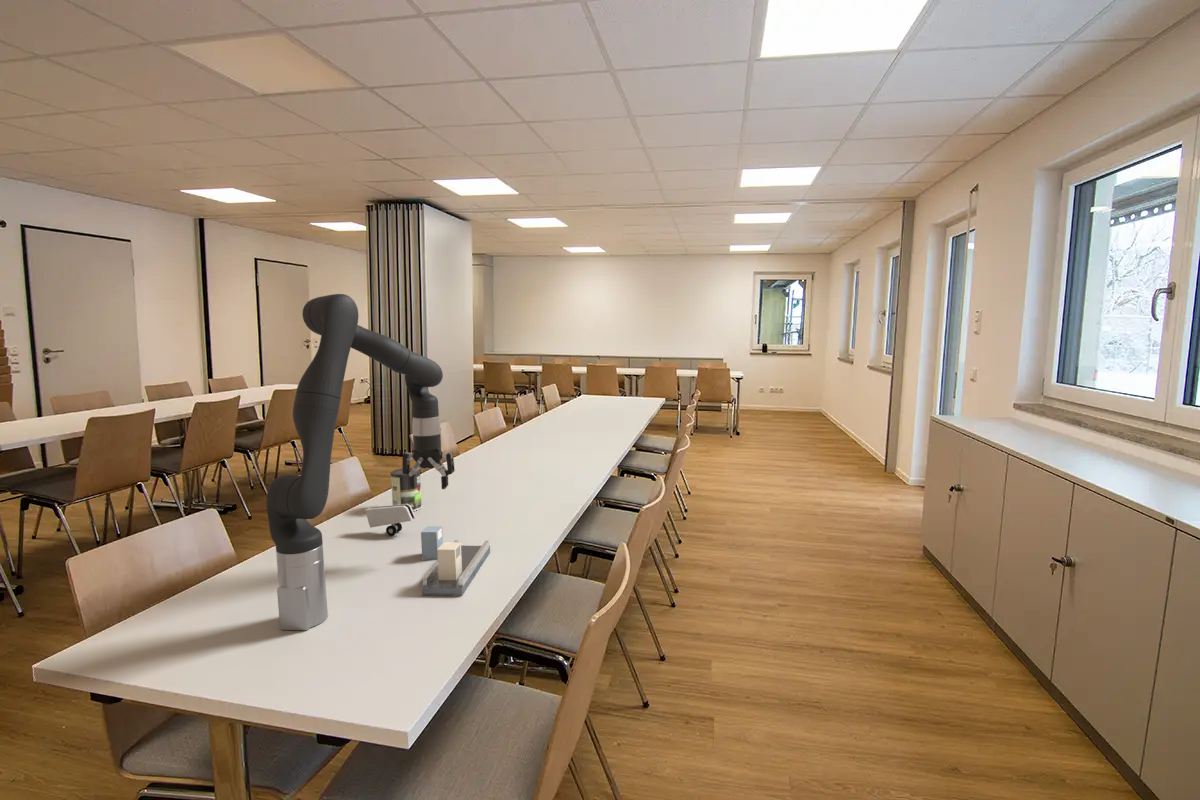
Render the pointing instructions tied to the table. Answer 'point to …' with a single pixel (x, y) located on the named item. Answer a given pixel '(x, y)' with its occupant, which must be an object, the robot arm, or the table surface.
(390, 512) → the grey wheeled device
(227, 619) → the table surface
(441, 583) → the tray
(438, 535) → the block
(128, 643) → the table surface
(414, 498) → the coffee can
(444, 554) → the block
